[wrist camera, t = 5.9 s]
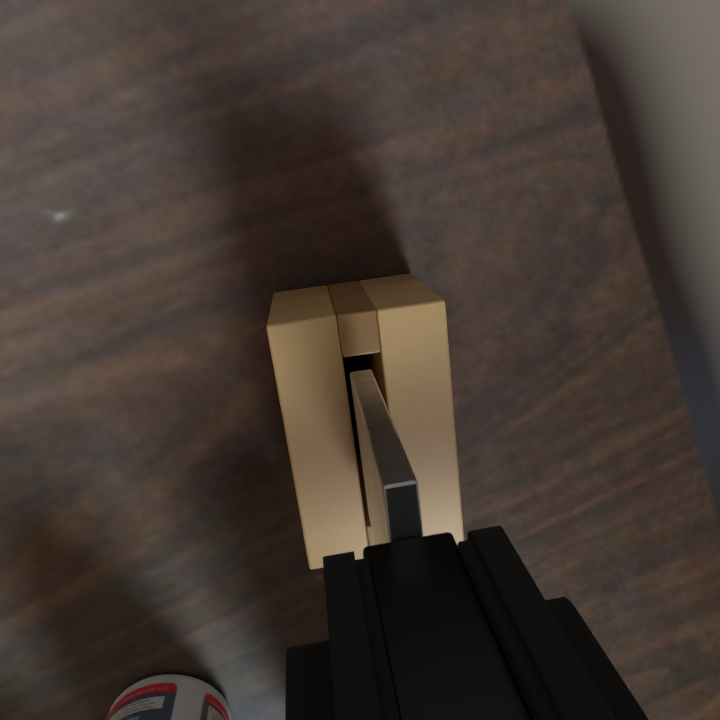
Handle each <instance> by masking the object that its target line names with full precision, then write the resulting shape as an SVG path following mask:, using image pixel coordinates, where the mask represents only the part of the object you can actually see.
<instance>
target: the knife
mask: <svg viewBox="0 0 720 720" xmlns="http://www.w3.org/2000/svg"><path fill="white" fill-rule="evenodd" d="M350 380H351V387H352V395H353V402H354V409H355V417H356V424H357V431H358V439H359V446H360V454H361V461H362V468H363V476H364V483H365V490H366V498H367V505H368V513H369V518H370V523H371V527H372V531H373V536H374V540H375V545H371V546H367V547H365V548H364V550H363V558H368V563H369V568H370V573H371V578H372V583H373V588H374V593H375V598H376V603H377V608H378V613H379V618H380V623H381V628H382V633H383V638H384V643H385V648H386V653H387V658H388V663H389V668H390V673H391V678H392V683H393V688H394V693H395V698H396V703H397V708H398V713H399V718H400V720H533V718H532V716H531V713H530V711H529V709H528V707H527V704H526V702H525V700H524V698H523V695H522V693H521V691H520V689H519V686H518V684H517V682H516V680H515V677H514V675H513V673H512V670H511V668H510V666H509V664H508V661H507V659H506V657H505V655H504V652H503V650H502V648H501V646H500V643H499V641H498V639H497V637H496V634H495V632H494V630H493V628H492V625H491V623H490V621H489V619H488V616H487V614H486V612H485V609H484V607H483V605H482V603H481V600H480V598H479V596H478V594H477V591H476V589H475V587H474V585H473V582H472V580H471V578H470V576H469V573H468V571H467V569H466V567H465V564H464V562H463V560H462V558H461V555H460V553H459V551H458V546H457V543H456V541H455V539H454V537H453V535H452V534H451V533H449V532H445V533H440V534H434V535H428V536H423V528H422V518H421V508H420V498H419V489H418V482H417V479H416V477H415V474H414V472H413V469H412V467H411V465H410V462H409V460H408V457H407V455H406V452H405V450H404V448H403V445H402V443H401V440H400V438H399V435H398V433H397V431H396V428H395V426H394V423H393V421H392V418H391V416H390V414H389V411H388V409H387V406H386V404H385V401H384V399H383V397H382V394H381V392H380V389H379V387H378V384H377V382H376V380H375V377H374V375H373V372H372V370H370V369H368V370H362V371H355V372H351V373H350Z"/></svg>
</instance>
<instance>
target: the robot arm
mask: <svg viewBox="0 0 720 720" xmlns="http://www.w3.org/2000/svg"><path fill="white" fill-rule="evenodd" d="M458 551H459V553H460V555H461V558H462V560H463V562H464V564H465V567H466V569H467V571H468V573H469V576H470V578H471V580H472V582H473V585H474V587H475V589H476V591H477V594H478V596H479V598H480V600H481V603H482V605H483V607H484V609H485V612H486V614H487V616H488V619H489V621H490V623H491V625H492V628H493V630H494V632H495V634H496V637H497V639H498V641H499V643H500V646H501V648H502V650H503V652H504V655H505V657H506V659H507V661H508V664H509V666H510V668H511V670H512V673H513V675H514V677H515V680H516V682H517V684H518V686H519V689H520V691H521V693H522V695H523V698H524V700H525V702H526V704H527V707H528V709H529V711H530V713H531V716H532V718H533V720H648V718H647V717H646V715H645V714H644V712H643V710H642V709H641V707H640V706H639V704H638V703H637V701H636V700H635V698H634V697H633V695H632V694H631V692H630V691H629V689H628V688H627V686H626V684H625V683H624V681H623V680H622V678H621V677H620V675H619V674H618V672H617V671H616V669H615V668H614V666H613V665H612V663H611V662H610V660H609V658H608V657H607V655H606V654H605V652H604V651H603V649H602V648H601V646H600V645H599V643H598V642H597V640H596V639H595V637H594V636H593V634H592V632H591V631H590V629H589V628H588V626H587V625H586V623H585V622H584V620H583V619H582V617H581V616H580V614H579V613H578V611H577V610H576V608H575V607H574V605H573V604H572V603H571V602H570V600H568V599H567V598H565V597H561V598H556V599H550V600H545V599H544V597H543V596H542V594H541V592H540V591H539V589H538V587H537V586H536V584H535V582H534V580H533V579H532V577H531V575H530V574H529V572H528V570H527V569H526V567H525V565H524V564H523V562H522V560H521V559H520V557H519V555H518V554H517V552H516V550H515V549H514V547H513V545H512V543H511V542H510V540H509V538H508V537H507V535H506V533H505V532H504V530H503V529H502V527H500V526H495V527H489V528H483V529H478V530H472V531H469V532H468V535H467V540H465V541H460V542H458ZM323 567H324V579H325V592H326V604H327V616H328V628H329V641H324V642H318V643H313V644H308V645H302V646H297V647H291V648H288V649H287V655H286V720H400V718H399V713H398V708H397V703H396V698H395V693H394V688H393V683H392V678H391V673H390V668H389V663H388V658H387V653H386V648H385V643H384V638H383V633H382V628H381V623H380V618H379V613H378V608H377V603H376V598H375V593H374V588H373V583H372V578H371V573H370V568H369V563H368V558H363V559H358V560H355V556H354V551H352V552H346V553H341V554H335V555H329V556H324V557H323Z"/></svg>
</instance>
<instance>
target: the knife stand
mask: <svg viewBox="0 0 720 720" xmlns="http://www.w3.org/2000/svg"><path fill="white" fill-rule="evenodd" d="M266 328H267V334H268V340H269V345H270V351H271V356H272V362H273V368H274V373H275V379H276V384H277V390H278V396H279V401H280V407H281V412H282V418H283V424H284V429H285V435H286V441H287V446H288V452H289V457H290V463H291V469H292V474H293V480H294V485H295V491H296V497H297V502H298V508H299V513H300V519H301V525H302V530H303V536H304V541H305V547H306V553H307V558H308V564H309V568H310V569H318V568H324V567H323V557H324V556H329V555H335V554H341V553H346V552H352V551H354V556H355V560H358V559H363V550H364V548H365V547H367V546H371V545H375V540H374V536H373V531H372V527H371V523H370V518H369V513H368V505H367V498H366V490H365V483H364V476H363V468H362V461H361V454H356V451H355V444H354V437H353V430H352V422H351V415H350V408H349V401H348V394H347V386H346V379H345V372H344V365H343V358H342V356H343V357H351V356H358V355H364V354H367V356H368V364H369V369H370V370H372V372H373V375H374V377H375V380H376V382H377V384H378V387H379V389H380V392H381V394H382V397H383V399H384V401H385V404H386V406H387V409H388V411H389V414H390V416H391V418H392V421H393V423H394V426H395V428H396V431H397V433H398V435H399V438H400V440H401V443H402V445H403V448H404V450H405V452H406V455H407V457H408V460H409V462H410V465H411V467H412V469H413V472H414V474H415V477H416V479H417V482H418V489H419V498H420V508H421V518H422V528H423V536H428V535H434V534H440V533H445V532H449V533H451V534H452V535H453V537H454V539H455V541H456V543H457V544H458V542H460V541H464V533H463V520H462V508H461V495H460V483H459V470H458V458H457V445H456V433H455V420H454V407H453V395H452V382H451V370H450V357H449V345H448V332H447V320H446V307H445V301H444V299H442V298H441V297H440V296H438V295H437V294H436V293H435V292H433V291H432V290H431V289H430V288H428V287H427V286H426V285H425V284H423V283H422V282H421V281H419V280H418V279H417V278H416V277H414V276H413V275H412V274H402V275H395V276H388V277H381V278H374V279H367V280H360V281H359V282H358V281H352V282H345V283H338V284H331V285H328V287H327V286H318V287H311V288H304V289H297V290H289V291H282V292H275V293H273V298H272V303H271V308H270V313H269V318H268V322H267V327H266Z"/></svg>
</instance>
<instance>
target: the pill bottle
mask: <svg viewBox="0 0 720 720" xmlns="http://www.w3.org/2000/svg"><path fill="white" fill-rule="evenodd" d="M106 720H231V715H230V710H229V707H228V705H227V703H226V701H225V699H224V698H223V696H222V695H221V694H220V693H219V692H218V691H217V690H216V689H215V688H214V687H212V686H211V685H209V684H208V683H206V682H204V681H202V680H199V679H197V678H194V677H189V676H185V675H177V674H164V675H157V676H152V677H149V678H146V679H143V680H141V681H139V682H137V683H135V684H133V685H131V686H130V687H128V688H127V689H126V690H125V691H123V692H122V693H121V694H120V695H119V697H118V698H117V699H116V700H115V702H114V703H113V705H112V706H111V708H110V710H109V713H108V716H107V718H106Z"/></svg>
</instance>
